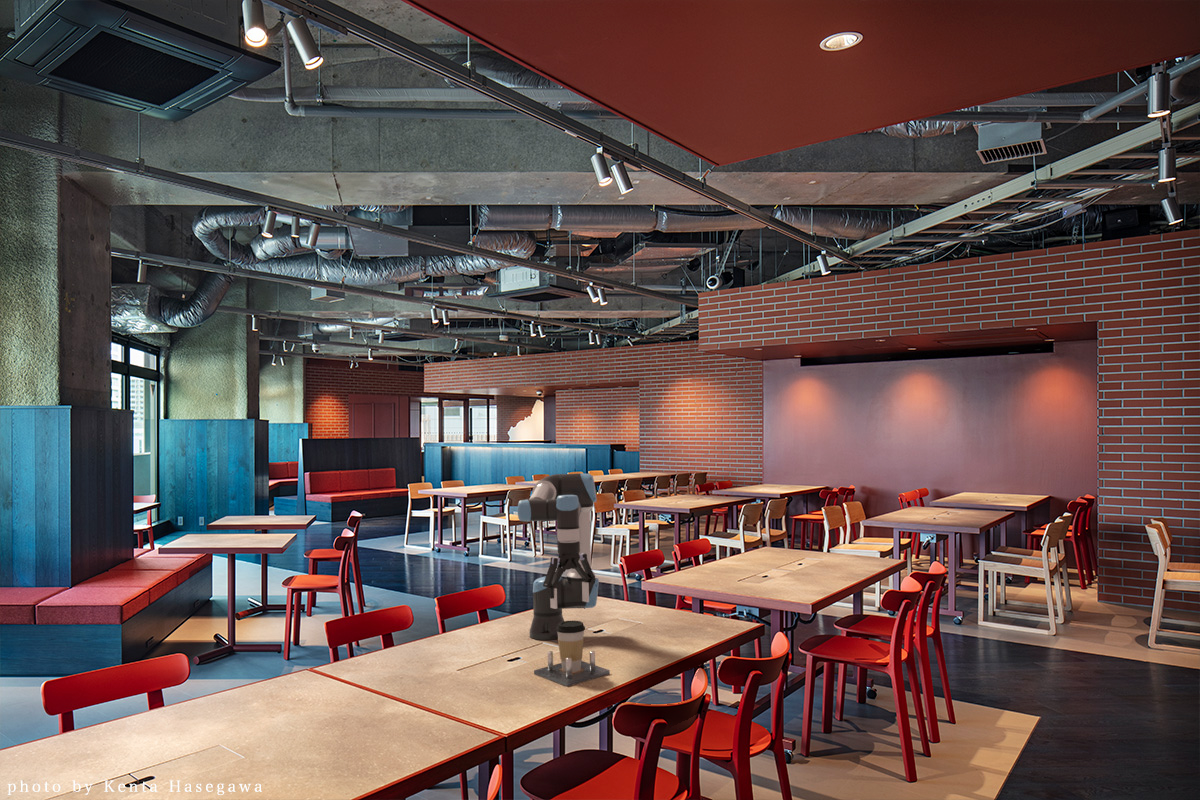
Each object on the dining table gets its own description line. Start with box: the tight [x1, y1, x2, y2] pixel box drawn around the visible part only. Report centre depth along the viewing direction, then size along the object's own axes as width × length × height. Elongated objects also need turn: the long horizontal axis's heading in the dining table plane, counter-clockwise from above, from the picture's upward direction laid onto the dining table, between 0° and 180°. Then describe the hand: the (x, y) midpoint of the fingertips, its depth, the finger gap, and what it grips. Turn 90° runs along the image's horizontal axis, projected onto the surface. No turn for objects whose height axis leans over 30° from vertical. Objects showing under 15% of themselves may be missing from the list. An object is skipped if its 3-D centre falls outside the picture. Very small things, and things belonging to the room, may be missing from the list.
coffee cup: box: [556, 620, 586, 672], centre depth 243 cm, size 10×10×15 cm
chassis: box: [533, 650, 611, 687], centre depth 243 cm, size 18×18×7 cm
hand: (570, 604), depth 244 cm, fingers open, 13 cm apart
